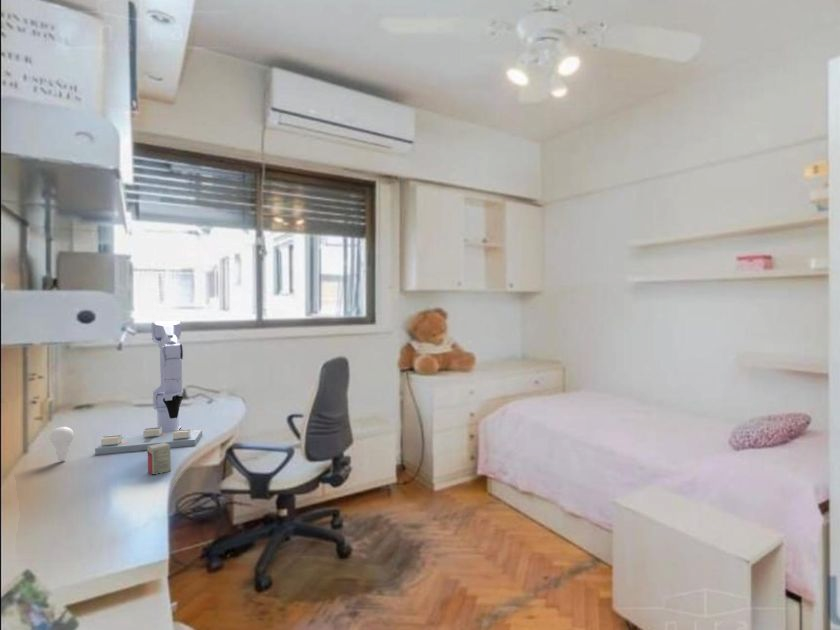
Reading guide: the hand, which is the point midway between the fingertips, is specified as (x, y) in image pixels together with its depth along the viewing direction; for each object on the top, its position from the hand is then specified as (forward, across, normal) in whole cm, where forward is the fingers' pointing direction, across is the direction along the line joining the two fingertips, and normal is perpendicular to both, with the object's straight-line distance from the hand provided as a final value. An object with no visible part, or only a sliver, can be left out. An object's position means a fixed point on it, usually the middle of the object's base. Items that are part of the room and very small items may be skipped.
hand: (173, 417), depth 160 cm
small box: (+11, +26, +1) cm, 28 cm away
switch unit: (+10, -9, -9) cm, 16 cm away
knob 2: (+8, -13, -10) cm, 18 cm away
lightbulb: (+11, +3, -32) cm, 34 cm away
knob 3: (+8, -6, +1) cm, 10 cm away
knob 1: (+8, -6, -21) cm, 23 cm away
